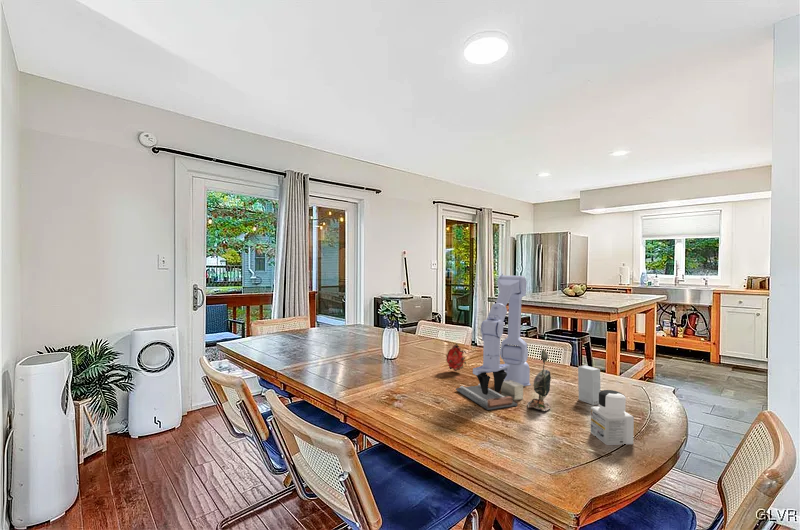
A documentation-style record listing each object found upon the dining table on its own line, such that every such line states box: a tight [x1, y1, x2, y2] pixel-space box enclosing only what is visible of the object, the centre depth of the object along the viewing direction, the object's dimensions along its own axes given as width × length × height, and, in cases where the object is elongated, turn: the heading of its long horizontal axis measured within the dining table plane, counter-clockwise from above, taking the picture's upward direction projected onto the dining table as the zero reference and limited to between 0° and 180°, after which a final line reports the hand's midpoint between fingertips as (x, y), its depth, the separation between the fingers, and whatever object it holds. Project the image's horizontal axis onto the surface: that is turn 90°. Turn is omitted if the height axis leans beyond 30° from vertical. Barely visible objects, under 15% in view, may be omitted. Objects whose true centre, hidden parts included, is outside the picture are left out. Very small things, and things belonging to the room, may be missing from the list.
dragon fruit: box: [445, 343, 467, 372], centre depth 172 cm, size 8×8×12 cm
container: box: [590, 389, 635, 446], centre depth 108 cm, size 8×8×13 cm
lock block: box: [500, 380, 524, 402], centre depth 141 cm, size 4×7×5 cm, turn 27°
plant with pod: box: [526, 349, 552, 412], centre depth 131 cm, size 8×11×20 cm
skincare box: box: [577, 364, 602, 406], centre depth 136 cm, size 6×4×12 cm
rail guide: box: [455, 383, 519, 411], centre depth 139 cm, size 12×21×3 cm, turn 21°
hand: (491, 392), depth 136 cm, fingers open, 5 cm apart
